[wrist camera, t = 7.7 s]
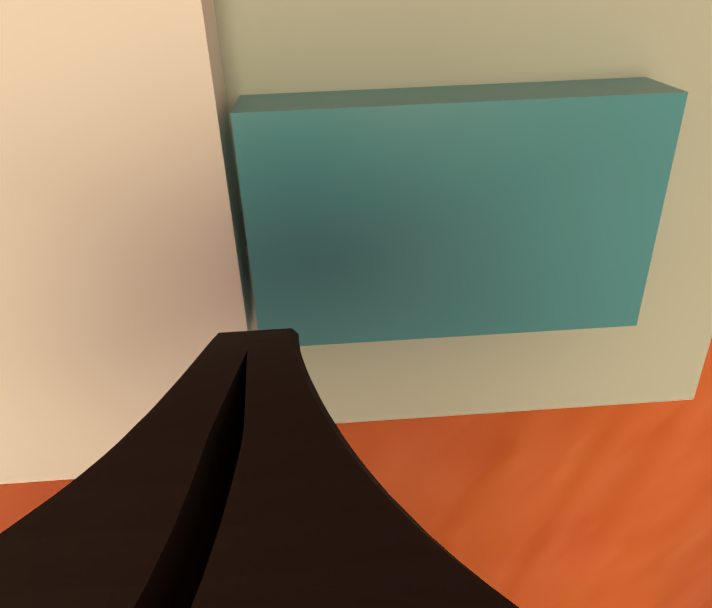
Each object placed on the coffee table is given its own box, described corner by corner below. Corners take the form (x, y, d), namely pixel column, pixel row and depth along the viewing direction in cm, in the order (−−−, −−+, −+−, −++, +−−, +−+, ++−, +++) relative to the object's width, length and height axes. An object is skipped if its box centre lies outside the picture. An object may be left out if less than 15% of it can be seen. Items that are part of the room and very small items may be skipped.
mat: (688, 393, 21) (693, 399, 21) (270, 421, 20) (269, 427, 20) (830, -105, 14) (840, -106, 14) (204, -81, 13) (202, -83, 13)
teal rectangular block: (605, 290, 18) (636, 325, 17) (265, 310, 18) (260, 348, 16) (645, 76, 15) (688, 92, 14) (240, 94, 15) (230, 113, 13)
